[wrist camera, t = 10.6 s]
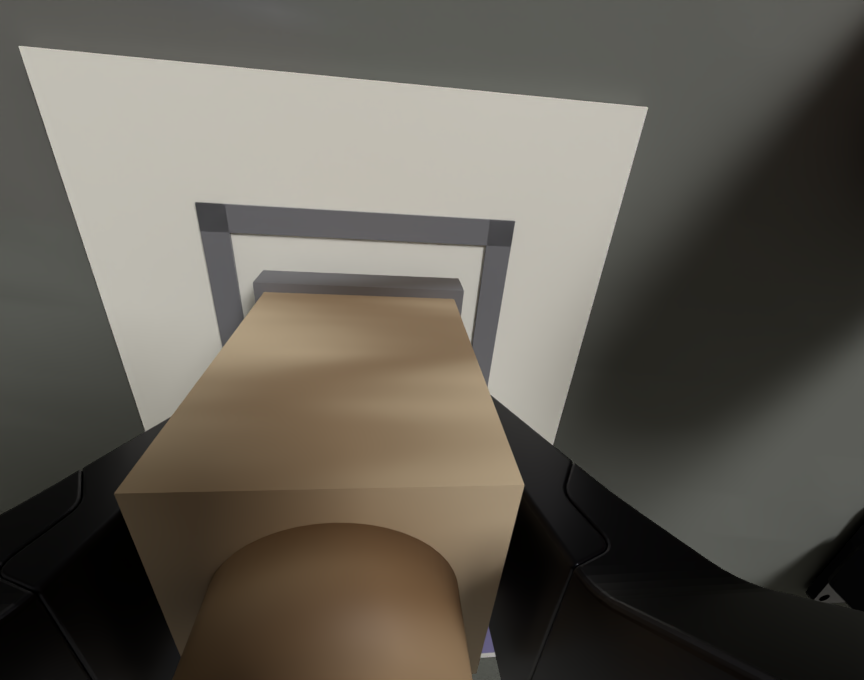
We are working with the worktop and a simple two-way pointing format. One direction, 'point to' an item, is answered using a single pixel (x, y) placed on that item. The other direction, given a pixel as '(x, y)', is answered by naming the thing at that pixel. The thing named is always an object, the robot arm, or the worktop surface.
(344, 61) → the worktop surface
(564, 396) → the print card
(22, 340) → the worktop surface
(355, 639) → the stamp
